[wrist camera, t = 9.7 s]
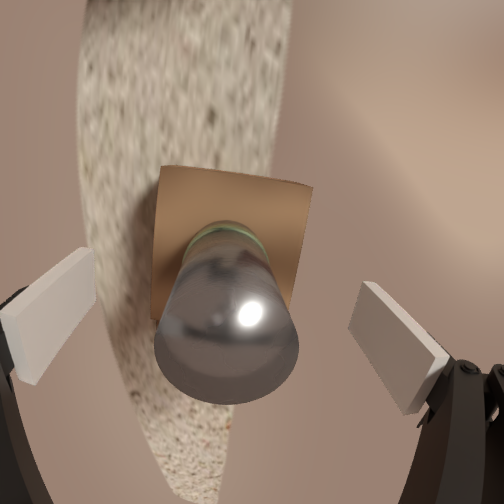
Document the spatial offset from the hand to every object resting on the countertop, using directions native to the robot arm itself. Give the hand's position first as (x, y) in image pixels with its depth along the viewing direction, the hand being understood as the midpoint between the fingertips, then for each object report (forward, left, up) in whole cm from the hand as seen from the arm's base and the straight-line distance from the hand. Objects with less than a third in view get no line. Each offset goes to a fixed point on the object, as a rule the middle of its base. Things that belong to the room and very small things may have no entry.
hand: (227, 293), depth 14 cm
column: (0, 0, -7) cm, 7 cm away
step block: (+1, 0, -12) cm, 12 cm away
